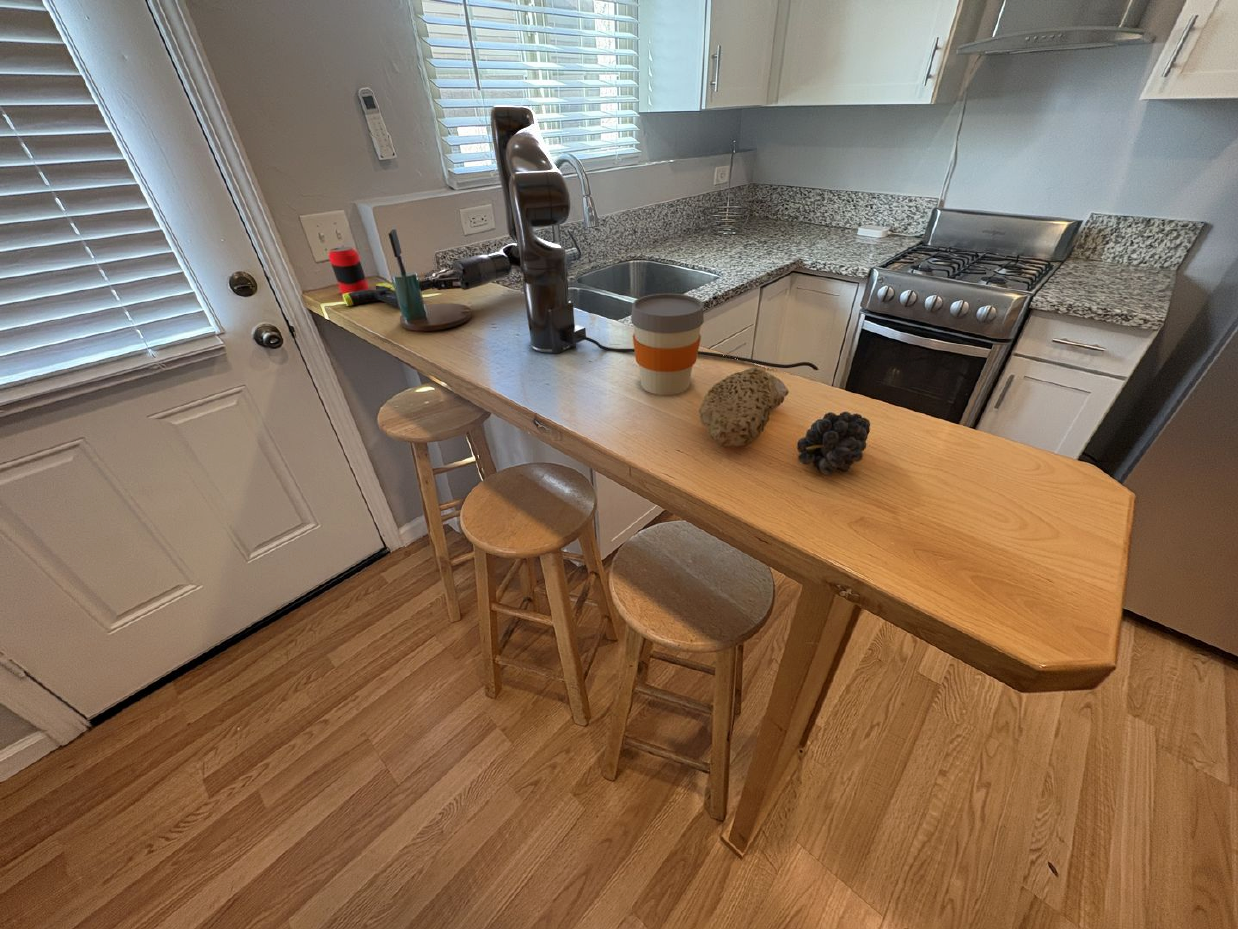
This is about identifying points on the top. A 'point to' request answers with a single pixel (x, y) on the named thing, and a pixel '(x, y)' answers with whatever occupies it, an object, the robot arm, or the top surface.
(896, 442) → the top surface
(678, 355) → the reusable coffee cup
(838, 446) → the fruit
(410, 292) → the teal post stand
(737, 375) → the sponge
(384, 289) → the stun gun
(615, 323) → the top surface
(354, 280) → the soda can
